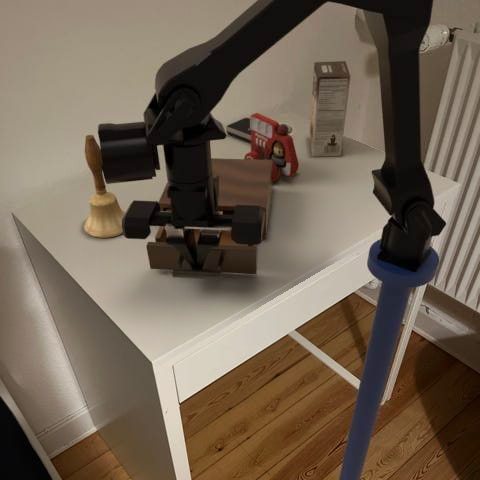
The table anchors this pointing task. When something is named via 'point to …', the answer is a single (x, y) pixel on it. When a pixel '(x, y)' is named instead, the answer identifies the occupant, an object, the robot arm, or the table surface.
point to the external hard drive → (240, 129)
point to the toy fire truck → (272, 145)
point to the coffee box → (328, 107)
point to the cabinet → (239, 185)
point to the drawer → (217, 260)
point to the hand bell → (101, 198)
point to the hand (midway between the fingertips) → (199, 271)
